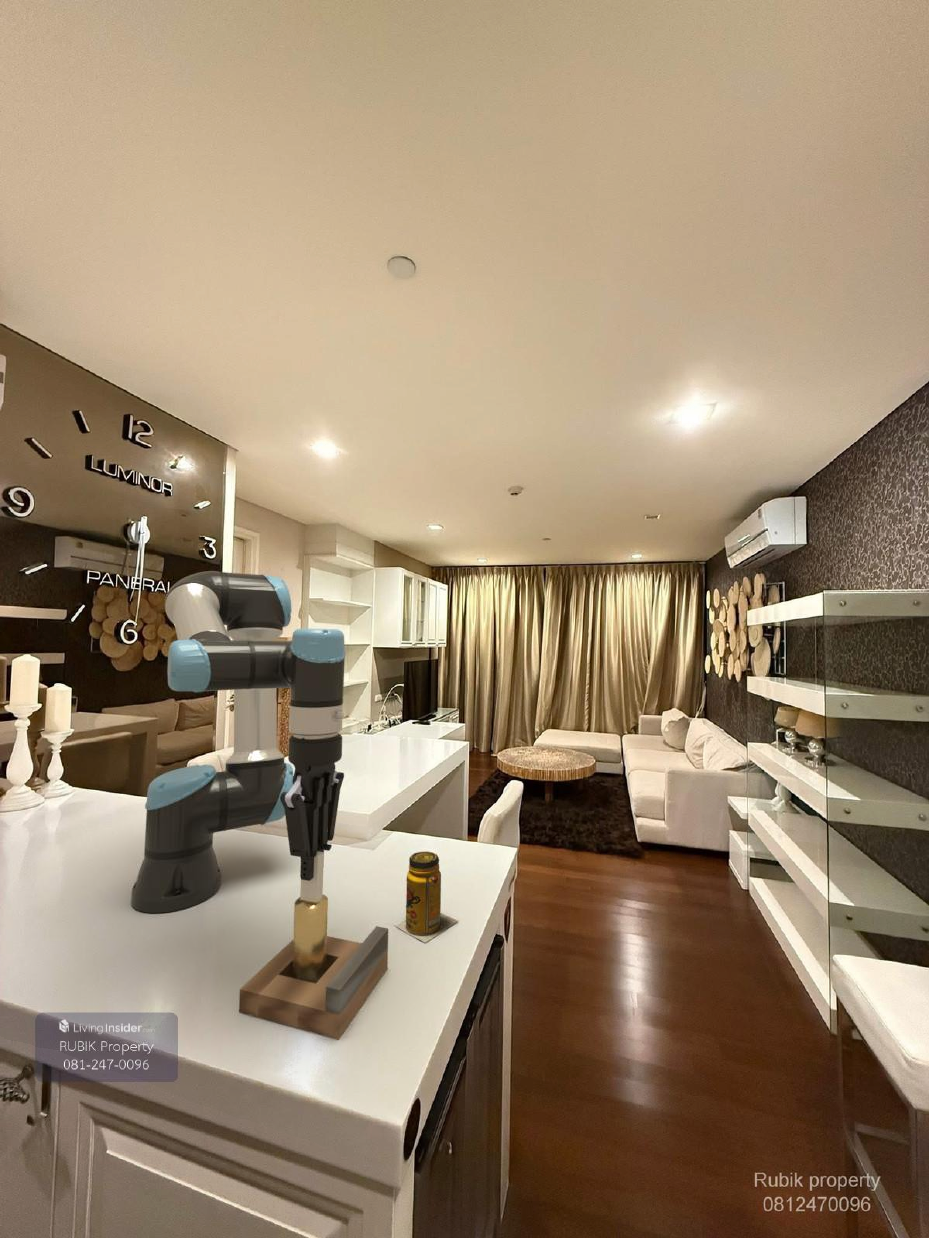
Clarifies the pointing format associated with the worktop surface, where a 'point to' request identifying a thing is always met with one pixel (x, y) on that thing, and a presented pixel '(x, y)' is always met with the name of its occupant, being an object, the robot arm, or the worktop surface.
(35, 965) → the worktop surface
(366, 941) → the jig
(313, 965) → the brass cylinder
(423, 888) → the condiment
